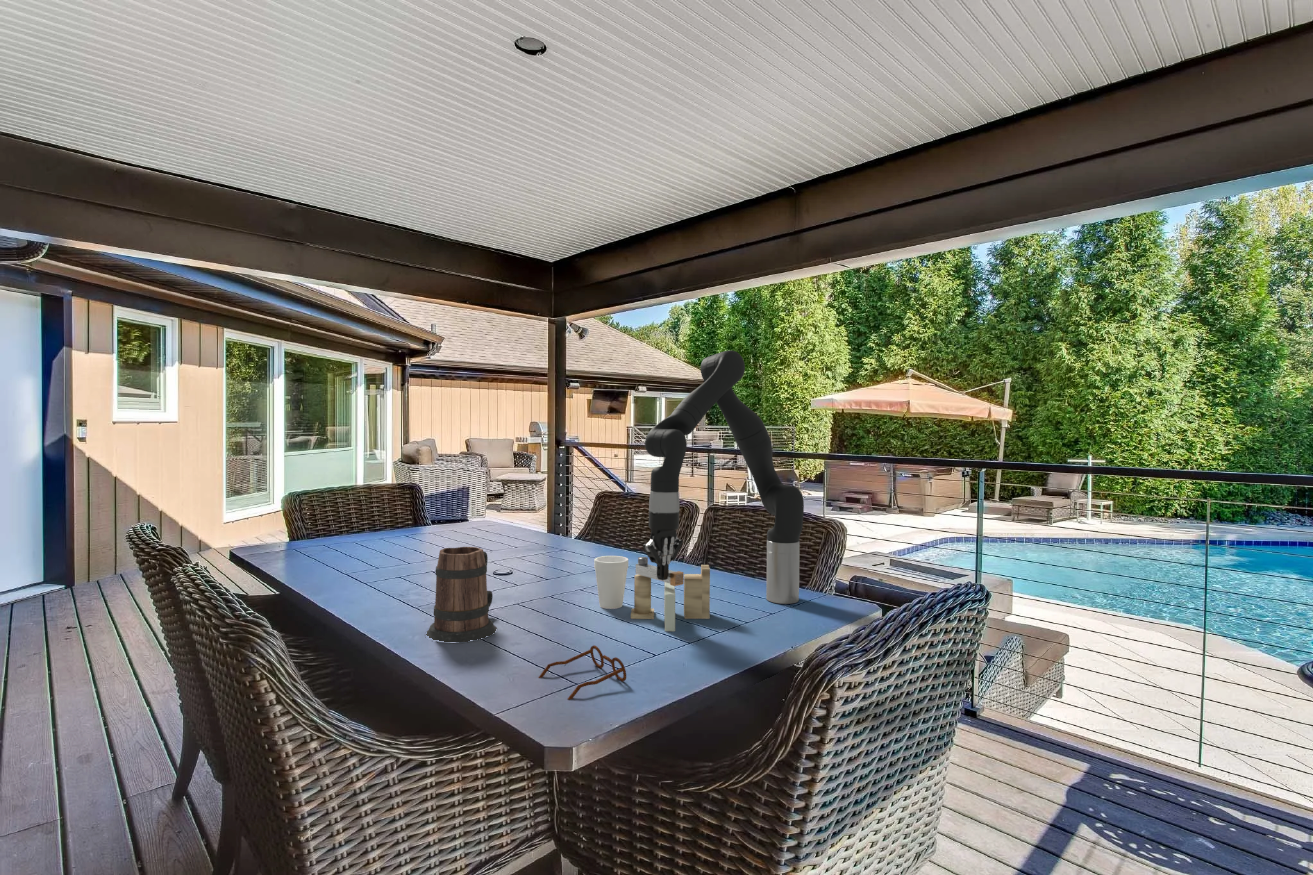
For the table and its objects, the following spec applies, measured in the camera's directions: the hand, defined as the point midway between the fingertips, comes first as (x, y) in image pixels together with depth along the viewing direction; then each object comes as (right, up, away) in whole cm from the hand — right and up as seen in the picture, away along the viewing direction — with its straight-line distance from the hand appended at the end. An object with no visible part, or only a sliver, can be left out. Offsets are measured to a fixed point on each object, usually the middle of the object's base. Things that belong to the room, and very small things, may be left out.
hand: (662, 579), depth 162 cm
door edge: (+2, -12, +6) cm, 13 cm away
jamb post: (-5, -12, +11) cm, 17 cm away
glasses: (-16, -14, -33) cm, 39 cm away
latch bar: (-1, -1, +6) cm, 6 cm away
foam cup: (-14, -12, +20) cm, 27 cm away
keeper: (+9, -12, +11) cm, 18 cm away
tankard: (-48, -12, 0) cm, 50 cm away
